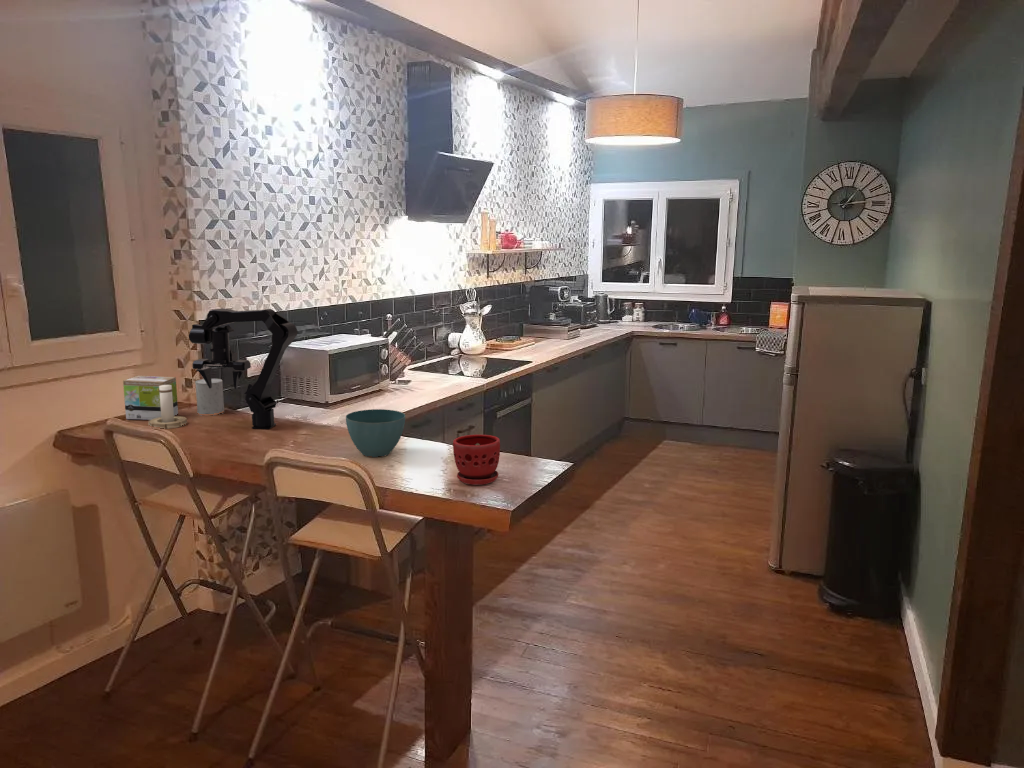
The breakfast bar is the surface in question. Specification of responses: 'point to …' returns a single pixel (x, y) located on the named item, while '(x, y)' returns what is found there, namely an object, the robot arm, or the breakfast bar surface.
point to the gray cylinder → (209, 397)
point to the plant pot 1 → (375, 430)
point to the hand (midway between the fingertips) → (223, 388)
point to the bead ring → (177, 422)
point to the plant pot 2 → (477, 458)
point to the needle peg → (166, 403)
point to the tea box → (146, 396)
